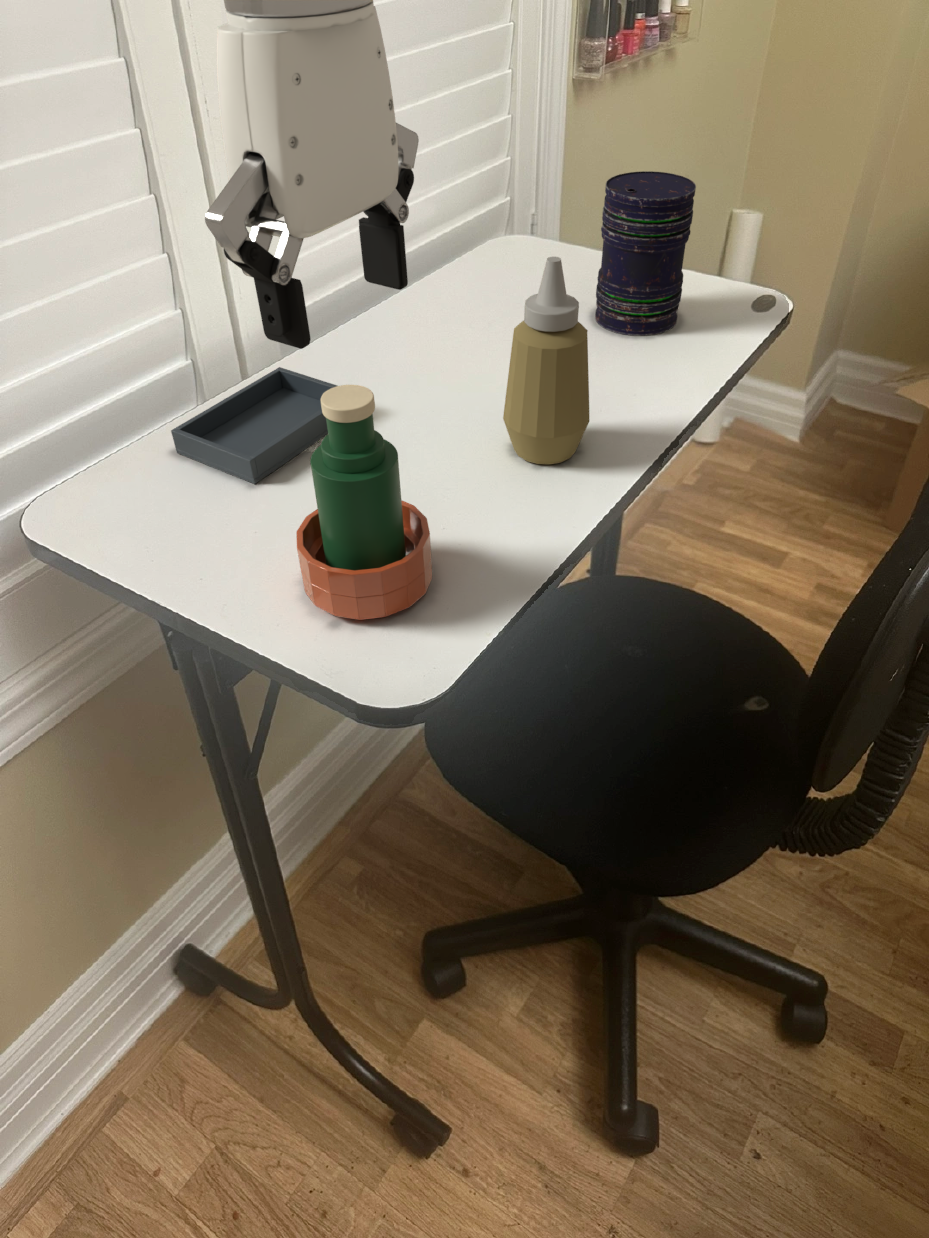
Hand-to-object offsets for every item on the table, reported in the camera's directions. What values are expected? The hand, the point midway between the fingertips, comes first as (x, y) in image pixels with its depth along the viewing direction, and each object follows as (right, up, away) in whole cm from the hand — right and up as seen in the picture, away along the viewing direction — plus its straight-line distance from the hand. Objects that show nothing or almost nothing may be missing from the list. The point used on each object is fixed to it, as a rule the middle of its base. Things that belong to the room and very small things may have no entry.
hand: (339, 312), depth 57 cm
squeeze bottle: (+16, -3, +29) cm, 33 cm away
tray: (-11, -1, +32) cm, 34 cm away
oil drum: (+28, +16, +51) cm, 60 cm away
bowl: (0, -17, +15) cm, 22 cm away
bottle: (0, -16, +14) cm, 22 cm away
